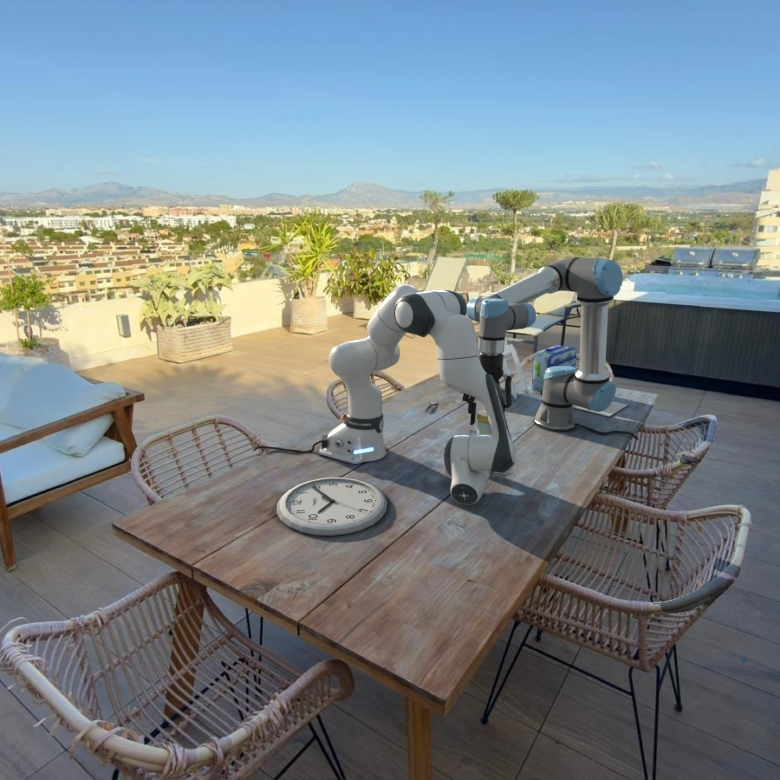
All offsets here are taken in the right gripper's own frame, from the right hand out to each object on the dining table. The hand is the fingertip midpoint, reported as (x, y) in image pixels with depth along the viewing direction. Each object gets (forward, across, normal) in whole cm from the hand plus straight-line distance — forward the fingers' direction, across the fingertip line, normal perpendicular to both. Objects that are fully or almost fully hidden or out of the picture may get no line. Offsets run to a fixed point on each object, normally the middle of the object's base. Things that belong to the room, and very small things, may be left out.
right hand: (485, 425), depth 159 cm
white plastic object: (+16, +25, -80) cm, 86 cm away
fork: (+16, +37, -51) cm, 65 cm away
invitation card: (+16, -28, -86) cm, 92 cm away
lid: (-4, 0, 0) cm, 4 cm away
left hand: (+9, 0, -1) cm, 9 cm away
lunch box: (+16, -5, -100) cm, 102 cm away
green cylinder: (+16, 0, 0) cm, 16 cm away
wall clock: (+16, +30, +39) cm, 52 cm away
